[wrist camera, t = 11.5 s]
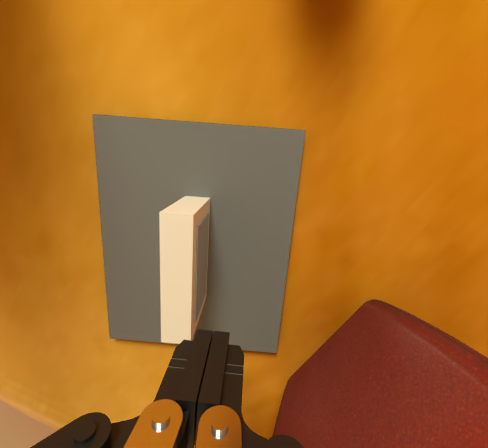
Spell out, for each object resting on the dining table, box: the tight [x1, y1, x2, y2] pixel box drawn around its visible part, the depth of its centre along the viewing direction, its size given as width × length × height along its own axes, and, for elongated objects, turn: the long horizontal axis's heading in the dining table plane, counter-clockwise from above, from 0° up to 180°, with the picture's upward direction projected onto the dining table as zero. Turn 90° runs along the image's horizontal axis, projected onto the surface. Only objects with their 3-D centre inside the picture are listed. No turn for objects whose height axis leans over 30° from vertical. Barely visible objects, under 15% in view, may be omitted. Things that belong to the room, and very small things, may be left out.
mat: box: [93, 114, 306, 353], centre depth 22 cm, size 20×16×1 cm
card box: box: [159, 196, 210, 344], centre depth 19 cm, size 9×2×6 cm, turn 176°
